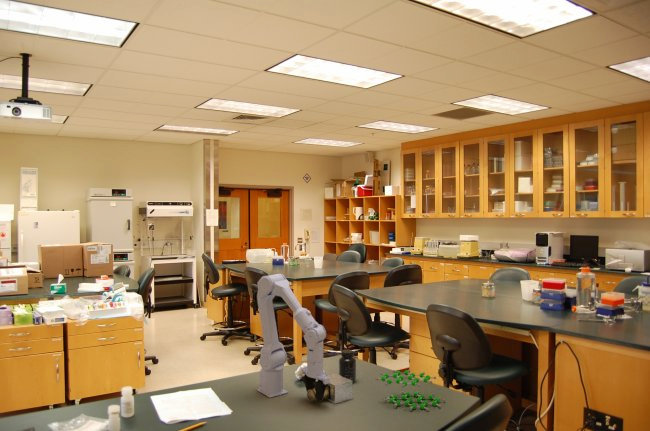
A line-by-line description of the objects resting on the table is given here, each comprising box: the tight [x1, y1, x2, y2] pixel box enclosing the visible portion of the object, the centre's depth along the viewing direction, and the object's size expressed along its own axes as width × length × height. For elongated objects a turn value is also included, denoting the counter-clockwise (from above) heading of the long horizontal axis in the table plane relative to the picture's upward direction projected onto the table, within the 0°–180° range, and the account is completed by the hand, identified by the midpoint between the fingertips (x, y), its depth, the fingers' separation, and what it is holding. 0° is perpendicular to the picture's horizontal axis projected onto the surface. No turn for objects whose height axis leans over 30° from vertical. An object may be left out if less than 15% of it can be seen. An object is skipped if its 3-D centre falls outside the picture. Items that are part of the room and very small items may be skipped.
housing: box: [324, 373, 353, 404], centre depth 179 cm, size 10×8×6 cm
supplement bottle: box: [338, 349, 357, 384], centre depth 196 cm, size 7×7×12 cm
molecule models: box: [375, 369, 446, 412], centre depth 175 cm, size 17×25×10 cm, turn 92°
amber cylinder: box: [306, 385, 331, 403], centre depth 176 cm, size 4×11×4 cm, turn 127°
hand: (315, 398), depth 174 cm, fingers open, 5 cm apart
